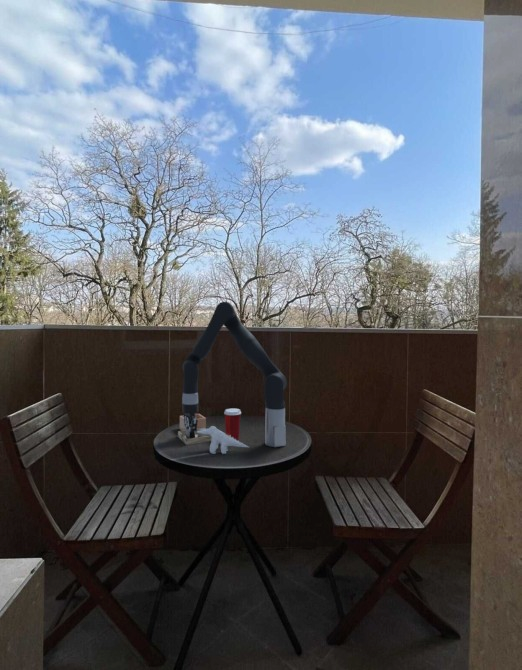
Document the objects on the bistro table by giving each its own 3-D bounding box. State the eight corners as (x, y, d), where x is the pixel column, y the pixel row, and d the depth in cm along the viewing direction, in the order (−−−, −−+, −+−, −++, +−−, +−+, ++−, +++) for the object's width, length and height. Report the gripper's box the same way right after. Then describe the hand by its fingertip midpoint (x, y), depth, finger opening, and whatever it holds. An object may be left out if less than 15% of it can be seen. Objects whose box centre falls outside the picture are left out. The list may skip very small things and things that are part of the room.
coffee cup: (243, 439, 175) (243, 408, 175) (237, 444, 167) (238, 412, 167) (227, 437, 177) (227, 407, 177) (221, 443, 169) (221, 411, 169)
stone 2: (208, 438, 173) (208, 429, 173) (199, 439, 171) (199, 431, 171) (204, 435, 177) (204, 427, 177) (196, 437, 175) (196, 428, 175)
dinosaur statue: (197, 446, 161) (199, 422, 161) (249, 454, 159) (252, 429, 159) (192, 451, 155) (195, 426, 154) (247, 460, 152) (250, 434, 152)
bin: (205, 433, 185) (205, 418, 185) (185, 436, 180) (185, 420, 180) (198, 427, 194) (199, 413, 194) (179, 430, 189) (179, 415, 189)
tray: (215, 442, 170) (215, 435, 170) (186, 447, 163) (186, 439, 163) (204, 434, 182) (204, 427, 182) (177, 438, 176) (177, 431, 176)
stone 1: (196, 438, 170) (196, 430, 170) (187, 439, 168) (187, 431, 168) (193, 436, 174) (193, 427, 174) (184, 437, 172) (184, 429, 172)
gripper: (203, 404, 166) (203, 440, 167) (193, 398, 179) (193, 432, 179) (187, 405, 163) (187, 443, 163) (178, 400, 175) (178, 435, 175)
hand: (190, 437), depth 171 cm, fingers closed on stone 1, 4 cm apart
